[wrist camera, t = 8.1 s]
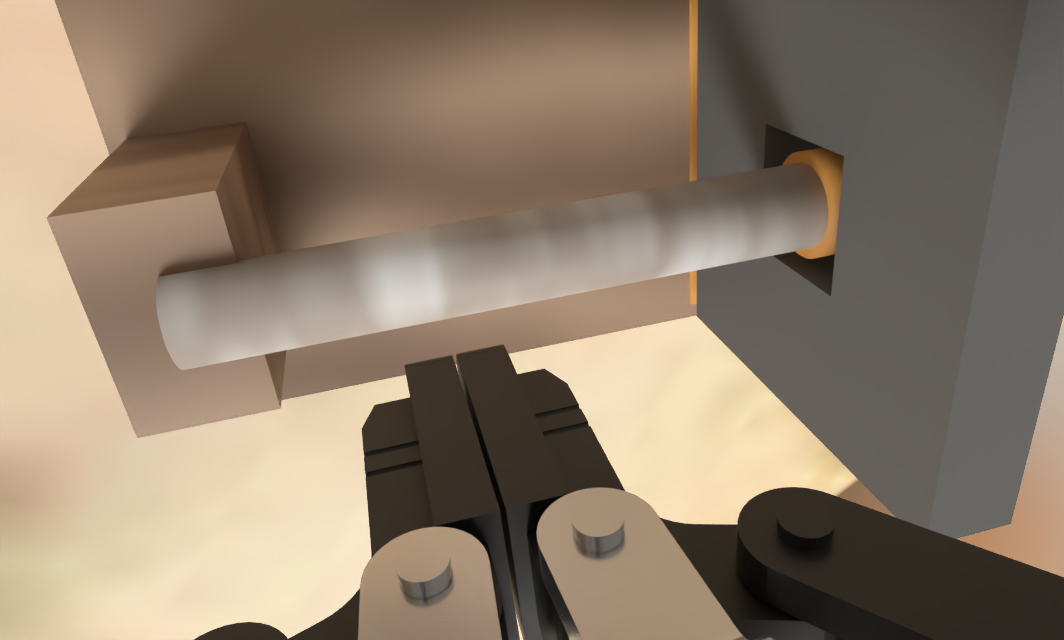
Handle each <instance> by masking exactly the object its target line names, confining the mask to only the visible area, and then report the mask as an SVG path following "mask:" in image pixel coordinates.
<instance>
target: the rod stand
mask: <svg viewBox="0 0 1064 640" xmlns="http://www.w3.org/2000/svg"><path fill="white" fill-rule="evenodd" d="M55 3H56V5H57V8H58V11H59V14H60V17H61V19H62V22H63V25H64V28H65V31H66V33H67V36H68V39H69V42H70V45H71V47H72V50H73V53H74V56H75V59H76V61H77V64H78V67H79V70H80V73H81V75H82V78H83V81H84V84H85V87H86V89H87V92H88V95H89V98H90V101H91V103H92V106H93V109H94V112H95V115H96V117H97V120H98V123H99V126H100V129H101V131H102V134H103V137H104V140H105V143H106V145H107V148H108V151H109V154H110V155H109V156H108V157H107V158H106V159H105V160H104V161H103V162H102V163H101V164H100V165H99V166H98V167H97V168H96V169H95V170H94V171H93V172H92V173H91V174H90V175H89V176H88V177H87V178H86V179H85V180H84V181H83V182H82V183H81V184H80V185H79V186H78V187H77V188H76V189H75V190H74V191H73V192H72V193H71V194H70V195H69V196H68V197H67V198H66V199H65V200H64V201H63V202H62V203H61V204H60V205H59V206H58V207H57V208H56V209H55V210H54V211H53V212H52V213H51V214H50V215H49V216H48V217H47V220H48V222H49V224H50V227H51V229H52V232H53V234H54V237H55V239H56V241H57V244H58V246H59V249H60V251H61V254H62V256H63V258H64V261H65V263H66V266H67V268H68V271H69V273H70V275H71V278H72V280H73V283H74V285H75V288H76V290H77V292H78V295H79V297H80V300H81V302H82V305H83V307H84V309H85V312H86V314H87V317H88V319H89V322H90V324H91V326H92V329H93V331H94V334H95V336H96V339H97V341H98V343H99V346H100V348H101V351H102V353H103V356H104V358H105V360H106V363H107V365H108V368H109V370H110V373H111V375H112V377H113V380H114V382H115V385H116V387H117V390H118V392H119V394H120V397H121V399H122V402H123V404H124V407H125V409H126V411H127V414H128V416H129V419H130V421H131V424H132V426H133V428H134V431H135V433H136V436H137V438H140V437H144V436H149V435H154V434H159V433H164V432H169V431H174V430H178V429H183V428H188V427H193V426H198V425H203V424H207V423H212V422H217V421H222V420H227V419H232V418H237V417H241V416H246V415H251V414H256V413H261V412H266V411H270V410H275V409H280V408H281V400H284V399H289V398H294V397H299V396H304V395H309V394H314V393H319V392H323V391H328V390H333V389H338V388H343V387H348V386H353V385H358V384H363V383H367V382H372V381H377V380H382V379H387V378H392V377H397V376H402V375H406V371H405V366H404V365H405V364H410V363H415V362H420V361H424V360H429V359H434V358H439V357H444V356H449V355H452V356H453V358H454V362H455V364H457V362H456V354H458V353H462V352H467V351H472V350H477V349H482V348H487V347H492V346H496V345H501V344H503V345H504V346H505V348H506V350H507V352H508V354H509V353H514V352H519V351H524V350H529V349H534V348H538V347H543V346H548V345H553V344H558V343H563V342H568V341H573V340H578V339H582V338H587V337H592V336H597V335H602V334H607V333H612V332H617V331H621V330H626V329H631V328H636V327H641V326H646V325H651V324H656V323H661V322H665V321H670V320H675V319H680V318H685V317H690V316H695V315H697V270H701V269H706V268H712V267H717V266H722V265H727V264H732V263H737V262H742V261H748V260H753V259H758V258H763V257H768V256H773V255H778V254H784V253H789V252H794V251H795V252H796V253H798V254H799V255H800V256H802V257H804V258H807V259H814V258H819V257H824V256H830V255H835V248H836V238H837V227H838V216H839V206H840V195H841V184H842V174H843V163H844V156H842V155H840V154H837V153H835V152H833V151H830V150H828V149H825V148H823V147H822V148H816V149H811V150H805V151H799V152H795V153H792V154H791V155H790V156H788V157H787V159H786V160H785V161H784V163H783V165H782V166H776V167H770V168H765V169H759V170H753V171H747V172H742V173H736V174H730V175H724V176H719V177H713V178H707V179H701V180H697V54H698V0H55Z"/></svg>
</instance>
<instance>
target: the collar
mask: <svg viewBox="0 0 1064 640" xmlns="http://www.w3.org/2000/svg"><path fill="white" fill-rule="evenodd" d="M822 147H823V148H825V149H828V150H830V151H833V152H835V153H837V154H840V155H842V156H844V163H843V174H842V184H841V195H840V206H839V216H838V227H837V238H836V248H835V255H830V256H824V257H819V258H814V259H807V258H804V257H802V256H800V255H799V254H798V253H796V252H795V251H794V252H789V253H784V254H778V255H773V256H768V257H763V258H758V259H753V260H748V261H742V262H737V263H732V264H727V265H722V266H717V267H712V268H706V269H701V270H697V317H698V318H699V319H700V320H701V321H702V322H703V323H704V324H705V325H706V326H707V327H708V328H709V329H710V330H711V331H712V332H713V333H714V334H715V335H716V336H717V337H718V338H719V339H720V340H721V341H722V342H723V343H724V344H725V345H726V346H727V347H728V348H729V349H730V350H731V351H732V352H733V353H734V354H735V355H736V356H737V357H738V358H739V359H740V360H741V361H742V362H743V363H744V364H745V365H746V366H747V367H748V368H749V369H750V370H751V371H752V372H753V373H754V374H755V375H756V376H757V377H758V378H759V379H760V380H761V381H762V382H763V383H764V384H765V385H766V386H767V387H768V388H769V389H770V390H771V391H772V392H773V393H774V394H775V396H776V397H777V398H778V399H779V400H780V401H781V402H782V403H783V404H784V405H785V406H786V407H787V408H788V409H789V410H790V411H791V412H792V413H793V414H794V415H795V416H796V417H797V418H798V419H799V420H800V421H801V422H802V423H803V424H804V425H805V426H806V427H807V428H808V429H809V430H810V431H811V432H812V433H813V434H814V435H815V436H816V437H817V438H818V439H819V440H820V441H821V442H822V443H823V444H824V445H825V446H826V447H827V448H828V449H829V450H830V451H831V452H832V453H833V454H834V455H835V456H836V457H837V458H838V459H839V460H840V461H841V462H842V463H843V464H844V465H845V466H846V467H847V468H848V469H849V470H850V471H851V472H852V473H853V474H854V475H855V476H856V477H857V478H858V479H859V480H860V481H861V482H862V484H863V485H864V486H865V487H866V488H868V489H869V491H870V492H871V493H872V494H873V495H874V496H875V497H876V498H877V499H878V500H879V501H880V502H881V503H882V504H883V505H884V506H885V507H887V509H888V510H889V511H890V512H891V513H892V514H893V515H894V516H895V517H896V518H898V519H901V520H904V521H907V522H909V523H912V524H915V525H918V526H921V527H923V528H926V529H929V530H932V531H935V532H938V533H940V534H943V535H946V536H949V537H952V538H954V539H957V538H960V537H964V536H967V535H971V534H975V533H979V532H982V531H986V530H990V529H993V528H997V527H1000V526H1004V525H1008V524H1011V520H1012V516H1013V512H1014V509H1015V505H1016V501H1017V497H1018V493H1019V489H1020V485H1021V481H1022V477H1023V473H1024V469H1025V465H1026V461H1027V457H1028V453H1029V449H1030V445H1031V441H1032V437H1033V433H1034V429H1035V426H1036V421H1037V418H1038V414H1039V410H1040V406H1041V402H1042V398H1043V394H1044V390H1045V386H1046V382H1047V378H1048V374H1049V370H1050V366H1051V362H1052V358H1053V355H1054V351H1055V347H1056V343H1057V339H1058V335H1059V331H1060V327H1061V323H1062V319H1063V315H1064V0H698V54H697V180H701V179H707V178H713V177H719V176H724V175H730V174H736V173H742V172H747V171H753V170H759V169H765V168H770V167H776V166H782V165H783V163H784V161H785V160H786V159H787V157H788V156H790V155H791V154H792V153H795V152H799V151H805V150H811V149H816V148H822Z"/></svg>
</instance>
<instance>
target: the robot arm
mask: <svg viewBox="0 0 1064 640" xmlns="http://www.w3.org/2000/svg"><path fill="white" fill-rule="evenodd" d="M456 362H457V368H456V365H455V362H454V358H453V356H452V355H449V356H444V357H439V358H434V359H429V360H424V361H420V362H415V363H410V364H405V365H404V366H405V371H406V377H407V382H408V387H409V393H410V398H406V399H401V400H396V401H392V402H387V403H382V404H377V405H375V406H374V407H373V409H372V411H371V413H370V415H369V417H368V418H367V420H366V422H365V424H364V426H363V428H362V437H363V449H364V456H365V457H364V462H365V473H366V487H367V500H368V513H369V526H370V538H371V551H372V557H371V559H370V561H369V562H368V564H367V566H366V567H365V569H364V572H363V575H362V578H361V584H360V589H359V590H358V591H357V592H356V594H355V595H354V596H353V597H352V598H351V599H350V600H349V601H348V602H347V603H346V604H345V605H344V606H343V607H342V608H340V609H339V610H338V611H336V612H335V613H334V614H332V615H331V616H329V617H327V618H326V619H324V620H322V621H321V622H319V623H317V624H315V625H313V626H311V627H310V628H308V629H306V630H304V631H302V632H300V633H298V634H297V635H295V636H293V637H291V638H289V639H287V637H286V636H285V635H284V634H283V633H282V632H280V631H279V630H278V629H276V628H274V627H272V626H270V625H266V624H262V623H253V622H245V623H236V624H231V625H226V626H223V627H220V628H217V629H214V630H212V631H210V632H207V633H205V634H203V635H201V636H199V637H198V638H196V639H194V640H520V639H519V632H518V625H517V619H516V615H517V618H518V622H519V626H520V629H521V633H522V636H523V640H1064V577H1061V576H1058V575H1055V574H1053V573H1050V572H1047V571H1044V570H1041V569H1039V568H1035V567H1033V566H1030V565H1027V564H1025V563H1022V562H1019V561H1016V560H1013V559H1010V558H1007V557H1005V556H1002V555H999V554H996V553H993V552H990V551H988V550H985V549H982V548H980V547H977V546H974V545H971V544H968V543H966V542H963V541H960V540H957V539H954V538H952V537H949V536H946V535H943V534H940V533H938V532H935V531H932V530H929V529H926V528H923V527H921V526H918V525H915V524H912V523H909V522H907V521H904V520H901V519H898V518H895V517H892V516H890V515H887V514H884V513H881V512H879V511H876V510H873V509H870V508H867V507H864V506H862V505H859V504H856V503H853V502H850V501H847V500H845V499H842V498H839V497H836V496H834V495H831V494H828V493H825V492H821V491H818V490H813V489H808V488H798V487H787V488H778V489H773V490H769V491H766V492H763V493H761V494H759V495H757V496H755V497H754V498H752V499H751V500H750V501H748V503H747V504H746V505H745V506H744V507H743V509H742V510H741V512H740V514H739V518H738V525H714V524H684V523H678V522H673V521H669V520H666V519H662V518H660V517H659V516H658V515H657V513H656V512H655V511H654V509H653V508H652V507H651V506H650V505H649V504H648V503H647V502H645V501H644V500H643V499H641V498H639V497H638V496H636V495H634V494H631V493H629V492H626V491H625V490H624V488H623V486H622V484H621V482H620V480H619V479H618V477H617V475H616V473H615V471H614V469H613V467H612V466H611V464H610V462H609V460H608V458H607V456H606V454H605V453H604V451H603V449H602V447H601V445H600V443H599V441H598V440H597V438H596V436H595V434H594V432H593V430H592V428H591V427H590V426H589V425H588V421H587V419H586V417H585V415H584V414H583V412H582V410H581V409H579V404H578V403H577V401H576V399H575V397H574V395H573V393H572V391H571V390H570V388H569V386H568V384H567V383H565V382H564V381H562V380H561V379H559V378H558V377H556V376H555V375H553V374H552V373H550V372H549V371H547V370H545V369H541V370H536V371H531V372H527V373H522V374H517V373H516V371H515V368H514V366H513V364H512V362H511V359H510V357H509V355H508V352H507V350H506V348H505V346H504V345H503V344H501V345H496V346H492V347H487V348H482V349H477V350H472V351H467V352H462V353H458V354H456ZM457 369H458V371H457ZM515 611H516V612H515Z"/></svg>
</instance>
